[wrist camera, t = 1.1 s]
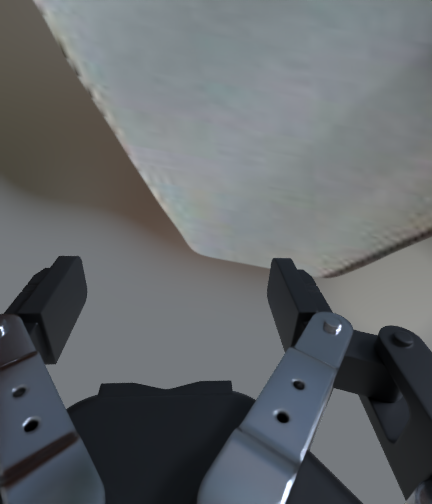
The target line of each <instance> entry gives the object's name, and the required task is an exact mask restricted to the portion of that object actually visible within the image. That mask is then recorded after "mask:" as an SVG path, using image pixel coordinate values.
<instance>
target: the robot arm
mask: <svg viewBox="0 0 432 504" xmlns="http://www.w3.org/2000/svg"><path fill="white" fill-rule="evenodd" d="M267 297H268V302H269V305H270V308H271V312H272V314H273V318H274V321H275V324H276V327H277V330H278V333H279V336H280V339H281V342H282V345H283V348H284V351H285V354H284V356H283V357H282V359H281V361H280V363H279V364H278V366H277V367H276V369H275V370H274V372H273V374H272V375H271V377H270V378H269V380H268V382H267V384H266V385H265V387H264V388H263V390H262V391H261V393H260V395H259V396H258V398H257V399H256V400H255V399H253V398H251V397H249V396H247V395H245V394H242V393H239V392H236V391H232V383H231V381H199V382H195V383H192V384H187V385H184V386H180V387H176V388H172V389H161V388H155V387H151V386H146V385H142V384H137V383H107V384H101V386H100V390H99V393H98V395H95V396H92V397H89V398H86V399H84V400H82V401H79V402H77V403H76V404H74V405H72V406H71V407H69V408H67V409H66V408H65V406H64V404H63V402H62V400H61V398H60V396H59V393H58V391H57V389H56V387H55V385H54V383H53V381H52V379H51V377H50V375H49V372H48V370H47V368H46V366H45V364H56V363H57V361H58V359H59V357H60V354H61V352H62V350H63V348H64V346H65V344H66V342H67V340H68V338H69V336H70V333H71V331H72V329H73V327H74V325H75V323H76V321H77V318H78V317H79V315H80V312H81V310H82V308H83V306H84V304H85V302H86V298H87V285H86V280H85V275H84V270H83V265H82V260H81V258H80V257H79V256H59V257H58V258H57V259H56V261H55V262H54V263H53V265H52V266H51V267H50V268H45V269H43V270H41V271H40V272H38V273H37V274H35V275H34V276H33V277H32V279H31V280H30V281H29V282H28V285H26V286H25V288H24V289H23V290H22V292H21V293H20V294H19V295H18V296H17V298H16V299H15V300H14V301H13V303H12V304H11V305H10V306H9V308H8V309H7V310H6V312H5V313H4V314H0V504H363V503H362V502H361V501H360V500H359V499H358V498H357V497H356V496H355V495H354V494H353V493H352V492H351V491H350V490H349V489H348V488H347V487H346V486H345V485H344V484H343V483H342V482H341V481H340V480H339V479H338V478H337V477H336V476H335V475H334V474H333V473H332V472H330V470H329V469H328V468H327V467H325V466H324V464H322V463H321V462H320V461H319V460H318V459H317V458H316V457H315V456H314V455H313V454H312V453H311V452H310V449H311V446H312V443H313V441H314V438H315V435H316V432H317V430H318V427H319V425H320V422H321V420H322V417H323V414H324V412H325V409H326V406H327V404H328V401H329V399H330V396H331V394H332V391H333V388H336V389H340V390H344V391H348V392H352V393H355V394H358V395H359V397H360V400H361V402H362V404H363V406H364V408H365V411H366V413H367V415H368V417H369V420H370V422H371V424H372V426H373V428H374V431H375V433H376V435H377V437H378V440H379V442H380V444H381V446H382V448H383V451H384V453H385V455H386V457H387V460H388V462H389V464H390V466H391V468H392V471H393V473H394V475H395V477H396V479H397V482H398V484H399V486H400V488H401V490H402V493H403V495H404V497H405V500H406V502H405V504H432V352H431V351H430V349H429V348H428V347H427V346H426V344H425V343H424V342H423V341H422V339H420V337H418V336H417V335H415V334H414V333H413V332H411V331H409V330H407V329H404V328H402V327H398V326H385V327H383V328H381V330H380V331H379V334H378V335H374V334H369V333H365V332H360V331H356V330H353V327H352V325H351V323H350V322H349V321H348V320H347V319H345V318H344V317H342V316H340V315H338V314H336V313H333V312H332V310H331V309H330V307H329V305H328V304H327V302H326V300H325V298H324V297H323V295H322V293H321V292H320V290H319V288H318V287H317V286H316V283H315V281H314V280H313V278H312V276H310V275H309V274H308V273H307V272H305V271H304V270H297V268H296V267H295V265H294V263H293V261H292V259H291V258H273V259H272V262H271V269H270V276H269V281H268V288H267Z"/></svg>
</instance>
